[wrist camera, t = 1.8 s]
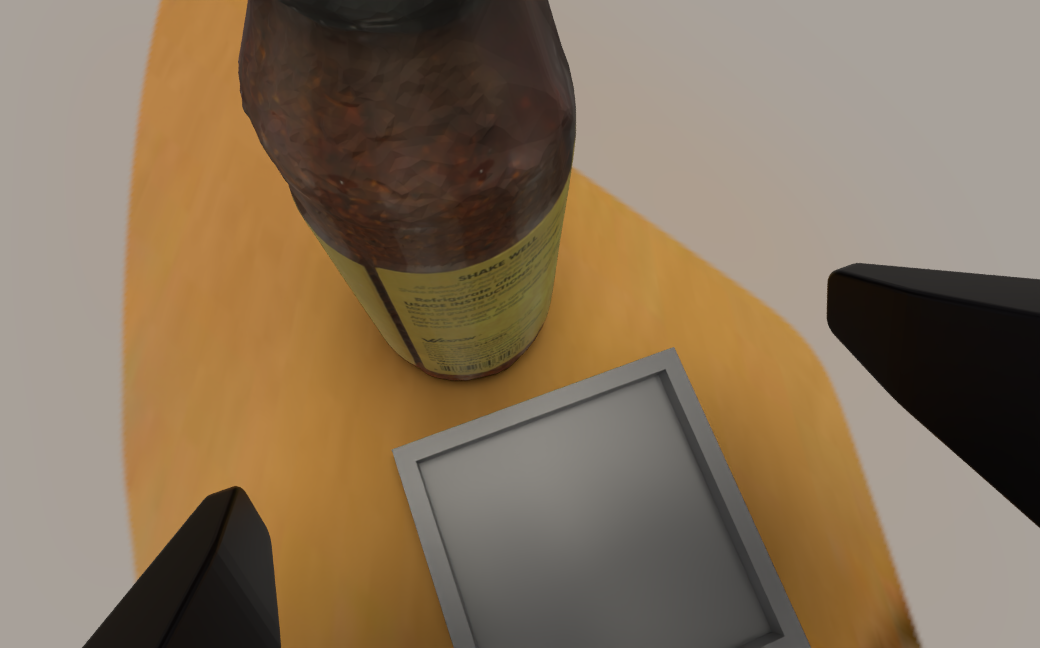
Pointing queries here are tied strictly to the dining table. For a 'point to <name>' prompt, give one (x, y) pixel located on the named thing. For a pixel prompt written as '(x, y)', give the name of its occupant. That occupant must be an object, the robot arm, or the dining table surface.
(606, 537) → the tray
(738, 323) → the dining table surface
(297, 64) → the sauce bottle
